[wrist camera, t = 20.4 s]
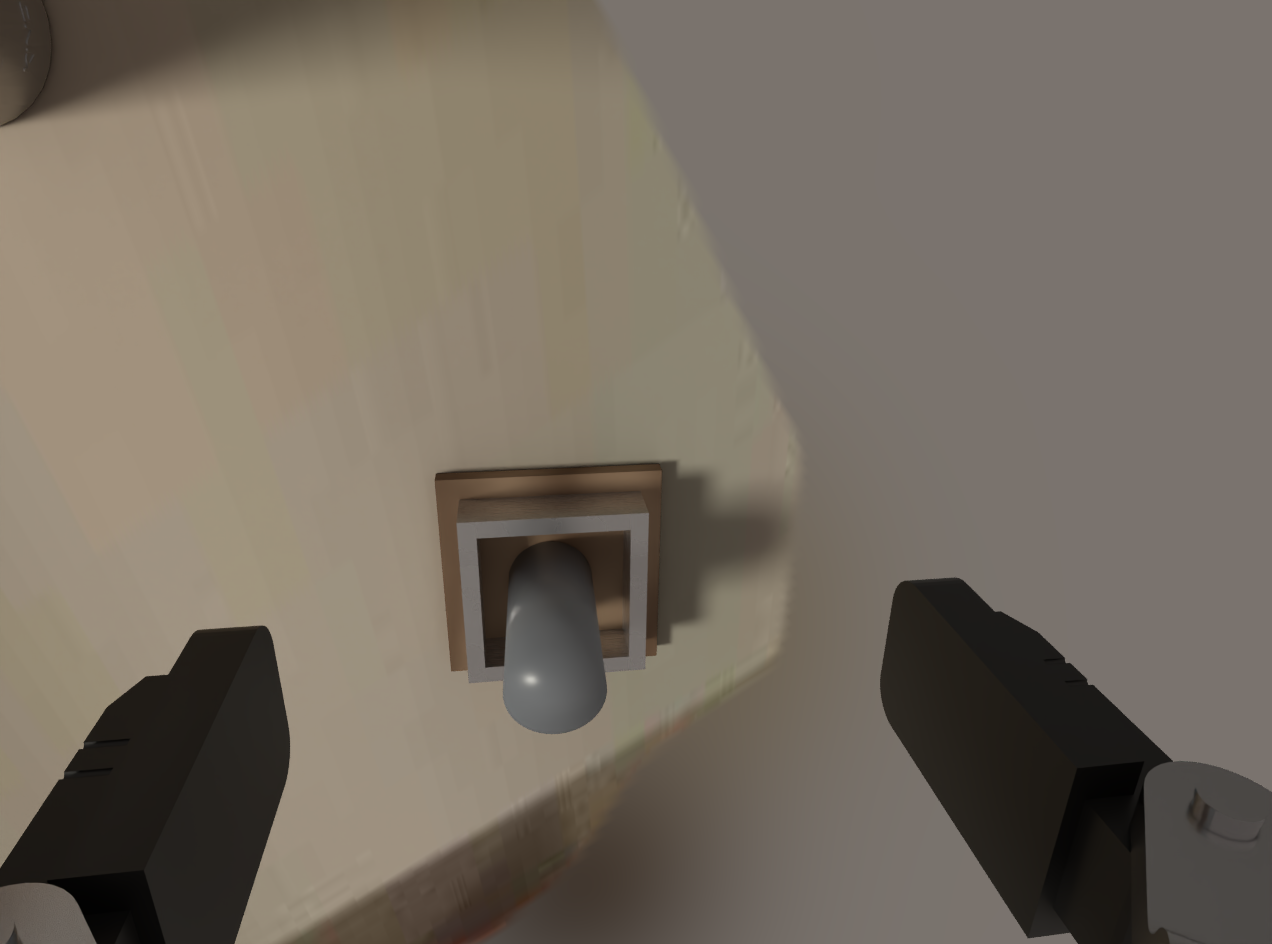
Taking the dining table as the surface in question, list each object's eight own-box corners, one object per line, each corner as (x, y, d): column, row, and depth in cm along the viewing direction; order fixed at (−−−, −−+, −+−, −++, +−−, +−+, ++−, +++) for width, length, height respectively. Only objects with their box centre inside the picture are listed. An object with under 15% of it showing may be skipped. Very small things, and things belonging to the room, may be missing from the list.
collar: (470, 653, 51) (468, 683, 49) (458, 499, 47) (456, 523, 45) (637, 640, 53) (645, 669, 50) (640, 490, 49) (648, 512, 46)
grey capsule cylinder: (514, 618, 51) (510, 740, 41) (503, 546, 49) (496, 656, 39) (595, 608, 51) (611, 726, 41) (587, 536, 49) (602, 642, 39)
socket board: (452, 661, 53) (451, 671, 52) (435, 473, 48) (434, 480, 47) (653, 646, 55) (656, 655, 54) (658, 463, 49) (661, 470, 49)
